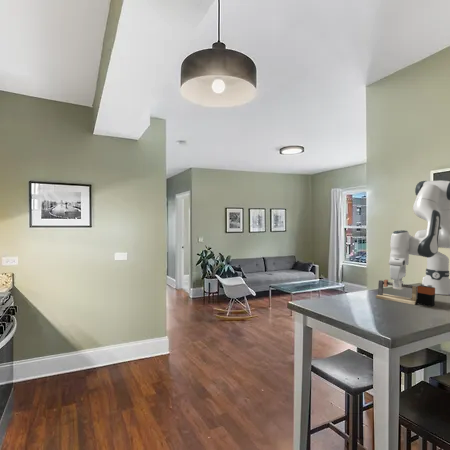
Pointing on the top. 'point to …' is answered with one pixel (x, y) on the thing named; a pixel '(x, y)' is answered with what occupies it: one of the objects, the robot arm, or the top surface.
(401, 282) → the marker sleeve
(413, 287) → the rod stand
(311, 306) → the top surface
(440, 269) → the robot arm
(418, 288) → the battery
